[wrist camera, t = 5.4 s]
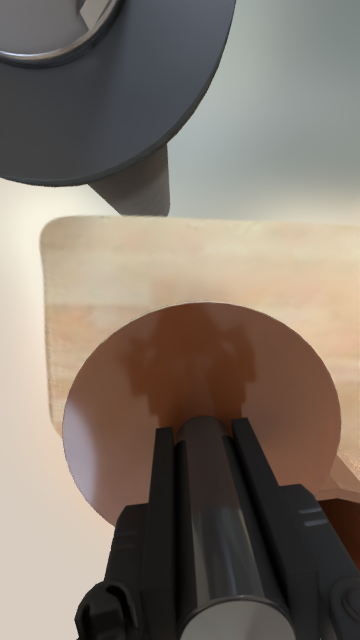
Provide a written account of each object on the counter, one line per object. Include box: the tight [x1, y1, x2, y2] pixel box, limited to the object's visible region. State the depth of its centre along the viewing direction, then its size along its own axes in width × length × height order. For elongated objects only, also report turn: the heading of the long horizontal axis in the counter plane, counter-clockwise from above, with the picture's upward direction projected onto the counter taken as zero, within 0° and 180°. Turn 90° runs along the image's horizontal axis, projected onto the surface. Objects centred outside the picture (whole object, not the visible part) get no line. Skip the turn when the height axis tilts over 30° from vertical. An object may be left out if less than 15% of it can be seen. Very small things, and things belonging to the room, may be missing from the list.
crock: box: [315, 449, 360, 572], centre depth 25 cm, size 13×13×10 cm
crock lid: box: [63, 300, 341, 640], centre depth 11 cm, size 14×14×9 cm
